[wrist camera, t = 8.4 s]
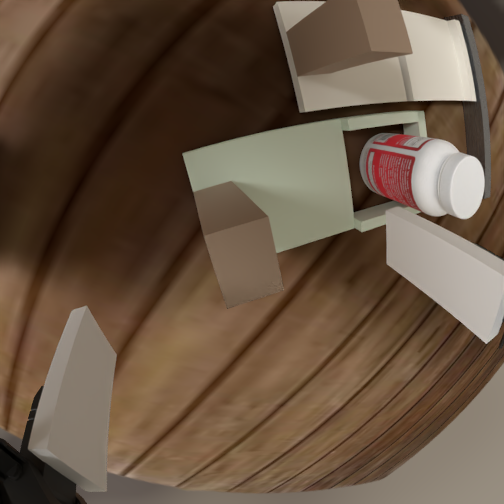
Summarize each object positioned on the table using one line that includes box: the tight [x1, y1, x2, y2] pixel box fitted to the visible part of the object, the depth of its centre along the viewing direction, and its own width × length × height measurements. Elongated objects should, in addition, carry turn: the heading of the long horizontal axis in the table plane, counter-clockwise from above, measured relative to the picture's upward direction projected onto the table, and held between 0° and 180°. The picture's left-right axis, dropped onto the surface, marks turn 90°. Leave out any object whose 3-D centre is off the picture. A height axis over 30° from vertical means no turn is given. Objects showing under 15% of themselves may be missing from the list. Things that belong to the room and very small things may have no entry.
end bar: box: [444, 14, 491, 199], centre depth 24 cm, size 2×23×3 cm, turn 14°
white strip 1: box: [273, 0, 413, 113], centre depth 16 cm, size 11×10×11 cm
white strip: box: [398, 10, 476, 101], centre depth 21 cm, size 10×10×2 cm
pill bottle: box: [359, 133, 485, 219], centre depth 21 cm, size 6×6×11 cm
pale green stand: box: [182, 111, 427, 309], centre depth 20 cm, size 22×10×11 cm, turn 103°
